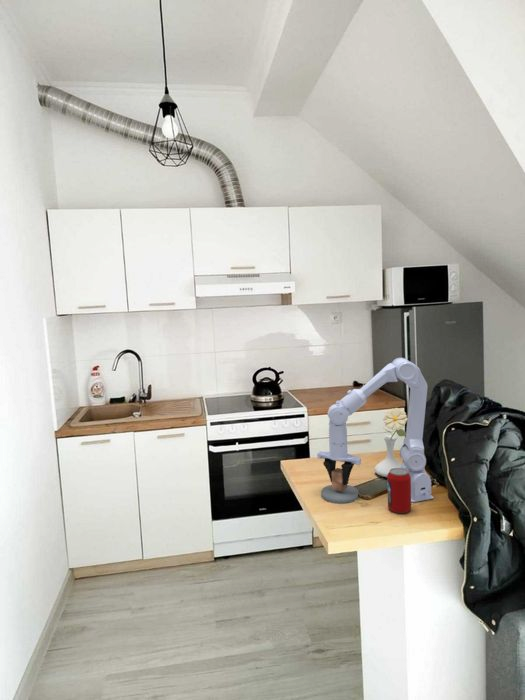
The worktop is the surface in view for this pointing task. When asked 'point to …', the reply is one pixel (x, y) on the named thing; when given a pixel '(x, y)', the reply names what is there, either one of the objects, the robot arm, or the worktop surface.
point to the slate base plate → (339, 494)
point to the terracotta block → (338, 480)
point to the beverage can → (399, 490)
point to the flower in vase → (391, 440)
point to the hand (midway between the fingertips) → (339, 482)
